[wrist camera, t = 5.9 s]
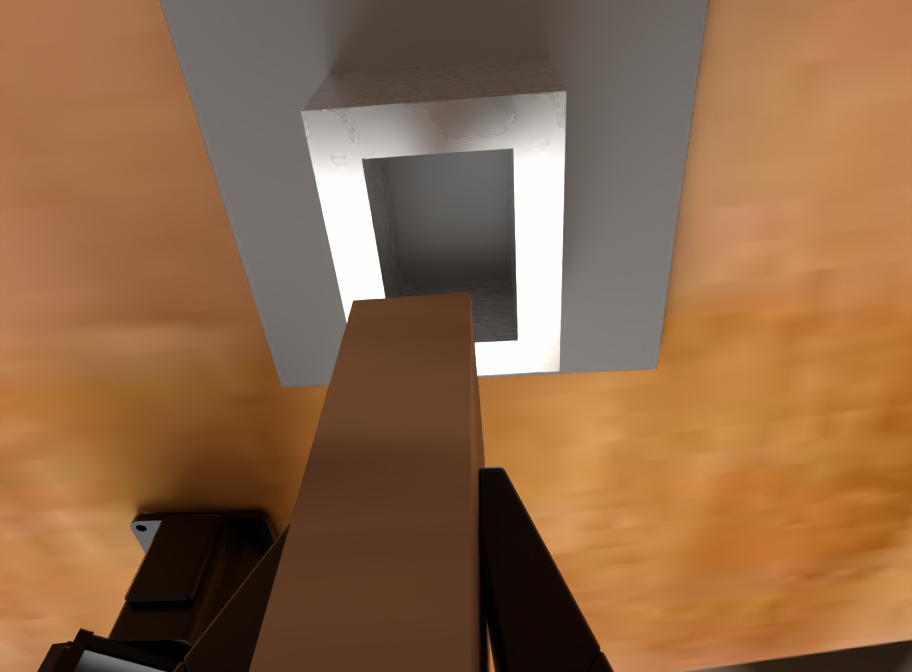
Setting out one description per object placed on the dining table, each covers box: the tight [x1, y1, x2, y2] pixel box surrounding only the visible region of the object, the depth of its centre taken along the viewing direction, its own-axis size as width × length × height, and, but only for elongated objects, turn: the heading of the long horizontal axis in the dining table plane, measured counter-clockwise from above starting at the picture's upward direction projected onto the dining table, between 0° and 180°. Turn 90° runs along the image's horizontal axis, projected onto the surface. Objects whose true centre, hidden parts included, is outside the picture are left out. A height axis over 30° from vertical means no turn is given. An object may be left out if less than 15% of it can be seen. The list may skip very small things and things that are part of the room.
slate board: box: [160, 0, 709, 387], centre depth 20 cm, size 14×14×1 cm
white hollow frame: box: [301, 56, 566, 375], centre depth 18 cm, size 8×6×4 cm
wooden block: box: [249, 293, 490, 672], centre depth 9 cm, size 4×2×7 cm, turn 5°
